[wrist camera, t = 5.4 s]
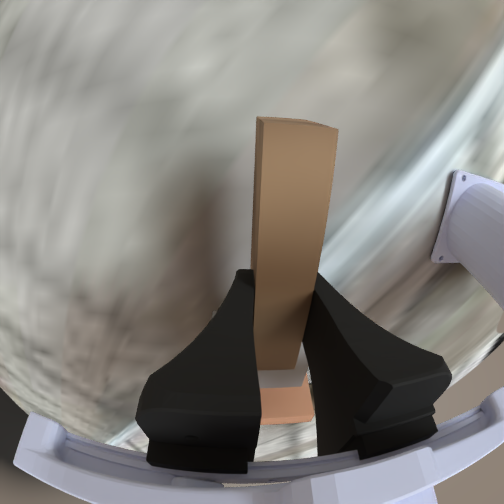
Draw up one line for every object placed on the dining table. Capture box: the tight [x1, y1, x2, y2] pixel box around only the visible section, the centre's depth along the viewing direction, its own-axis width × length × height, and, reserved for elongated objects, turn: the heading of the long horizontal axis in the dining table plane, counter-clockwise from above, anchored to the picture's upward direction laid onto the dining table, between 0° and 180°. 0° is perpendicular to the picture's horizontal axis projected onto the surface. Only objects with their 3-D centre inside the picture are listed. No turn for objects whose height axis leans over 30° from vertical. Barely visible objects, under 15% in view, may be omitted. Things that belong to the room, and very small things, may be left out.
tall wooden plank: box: [212, 117, 338, 388], centre depth 13 cm, size 17×6×4 cm, turn 178°
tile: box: [260, 373, 314, 425], centre depth 20 cm, size 7×1×8 cm, turn 88°
